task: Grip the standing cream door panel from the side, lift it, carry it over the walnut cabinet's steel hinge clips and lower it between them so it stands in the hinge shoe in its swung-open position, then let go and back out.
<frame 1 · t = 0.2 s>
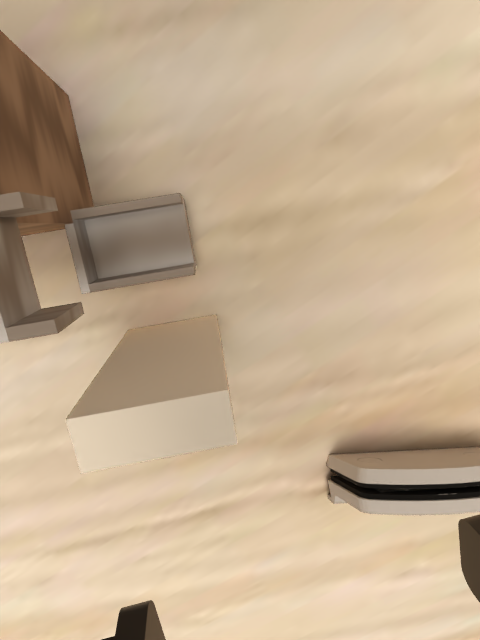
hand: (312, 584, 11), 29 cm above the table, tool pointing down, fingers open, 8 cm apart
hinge: (404, 458, 44), on the table
door: (175, 337, 39), on the table
cabinet: (9, 173, 34), on the table
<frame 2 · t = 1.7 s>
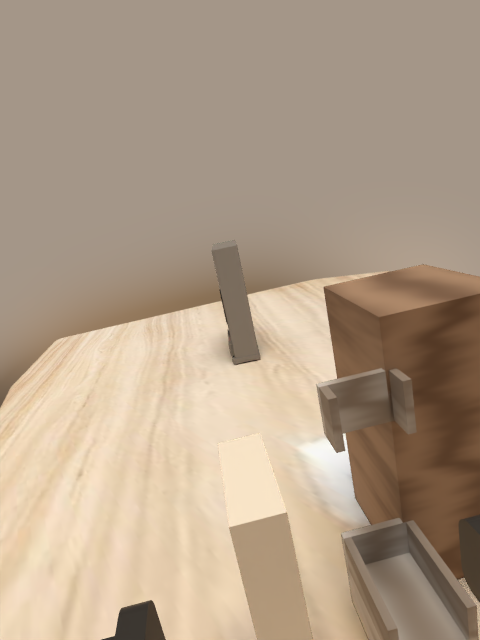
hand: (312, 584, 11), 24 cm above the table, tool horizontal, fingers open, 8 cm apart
cassette tape recorder: (245, 352, 98), on the table
cabinet: (428, 525, 41), on the table
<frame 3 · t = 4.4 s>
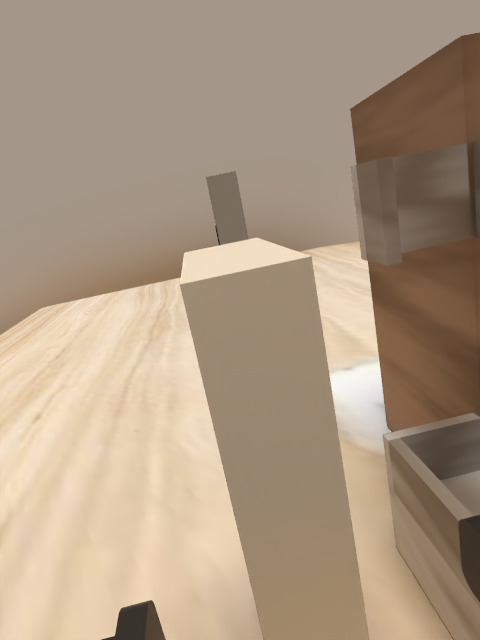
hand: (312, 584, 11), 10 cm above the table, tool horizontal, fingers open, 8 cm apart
cassette tape recorder: (244, 305, 86), on the table
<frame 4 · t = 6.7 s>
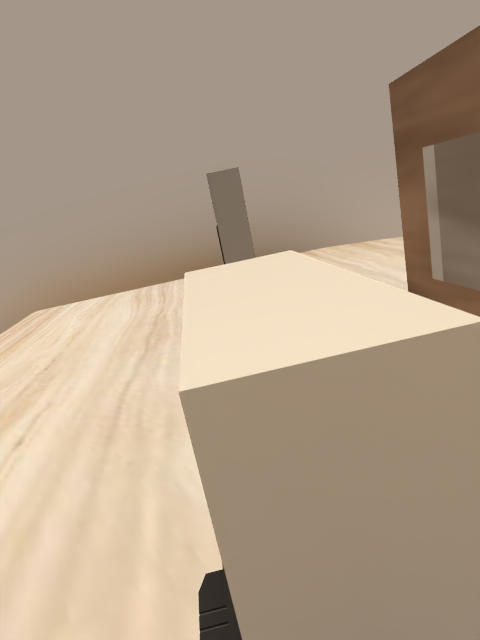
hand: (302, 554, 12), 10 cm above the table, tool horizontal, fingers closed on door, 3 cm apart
cassette tape recorder: (247, 310, 81), on the table
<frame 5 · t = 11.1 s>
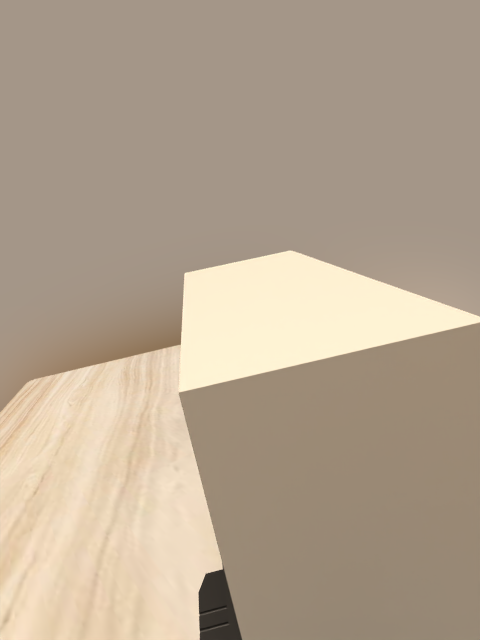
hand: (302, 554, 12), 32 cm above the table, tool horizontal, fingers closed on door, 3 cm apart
when the fingers open (15 cm above the table, at t = 15.7 s): door stays where it is, resting on cabinet.
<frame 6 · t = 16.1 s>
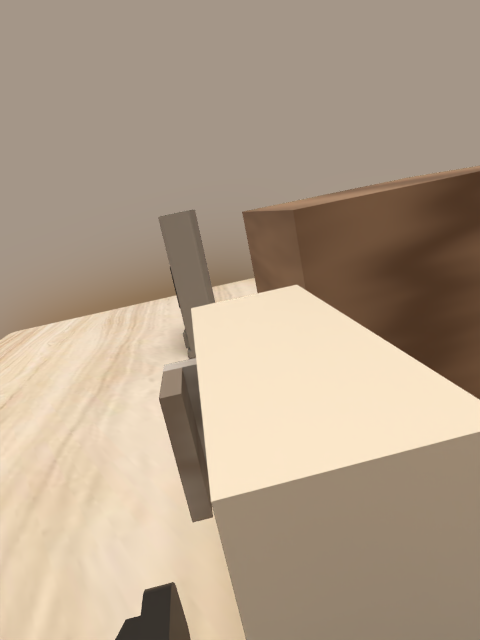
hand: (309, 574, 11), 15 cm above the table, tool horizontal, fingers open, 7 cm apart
cassette tape recorder: (206, 345, 82), on the table
cabinet: (417, 609, 25), on the table
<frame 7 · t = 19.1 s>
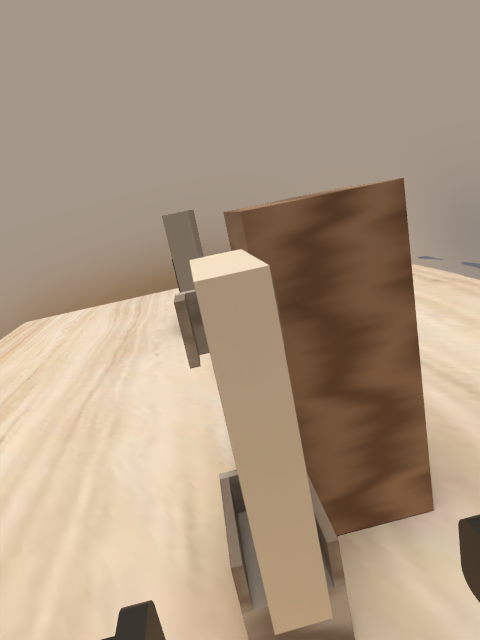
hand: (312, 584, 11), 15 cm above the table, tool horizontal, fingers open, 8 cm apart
door: (285, 562, 25), point 4 cm above the table, touching cabinet
cassette tape recorder: (203, 327, 94), on the table
cabinet: (341, 478, 37), on the table
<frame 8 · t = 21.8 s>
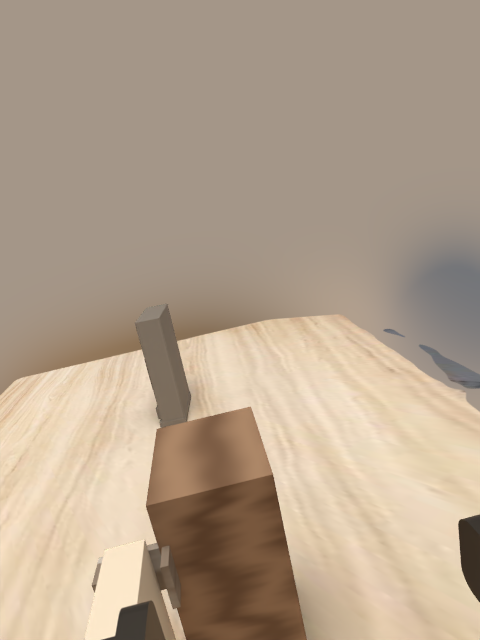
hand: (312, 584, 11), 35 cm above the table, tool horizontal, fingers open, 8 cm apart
cassette tape recorder: (176, 412, 102), on the table
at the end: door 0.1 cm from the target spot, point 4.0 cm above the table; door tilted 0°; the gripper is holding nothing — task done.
